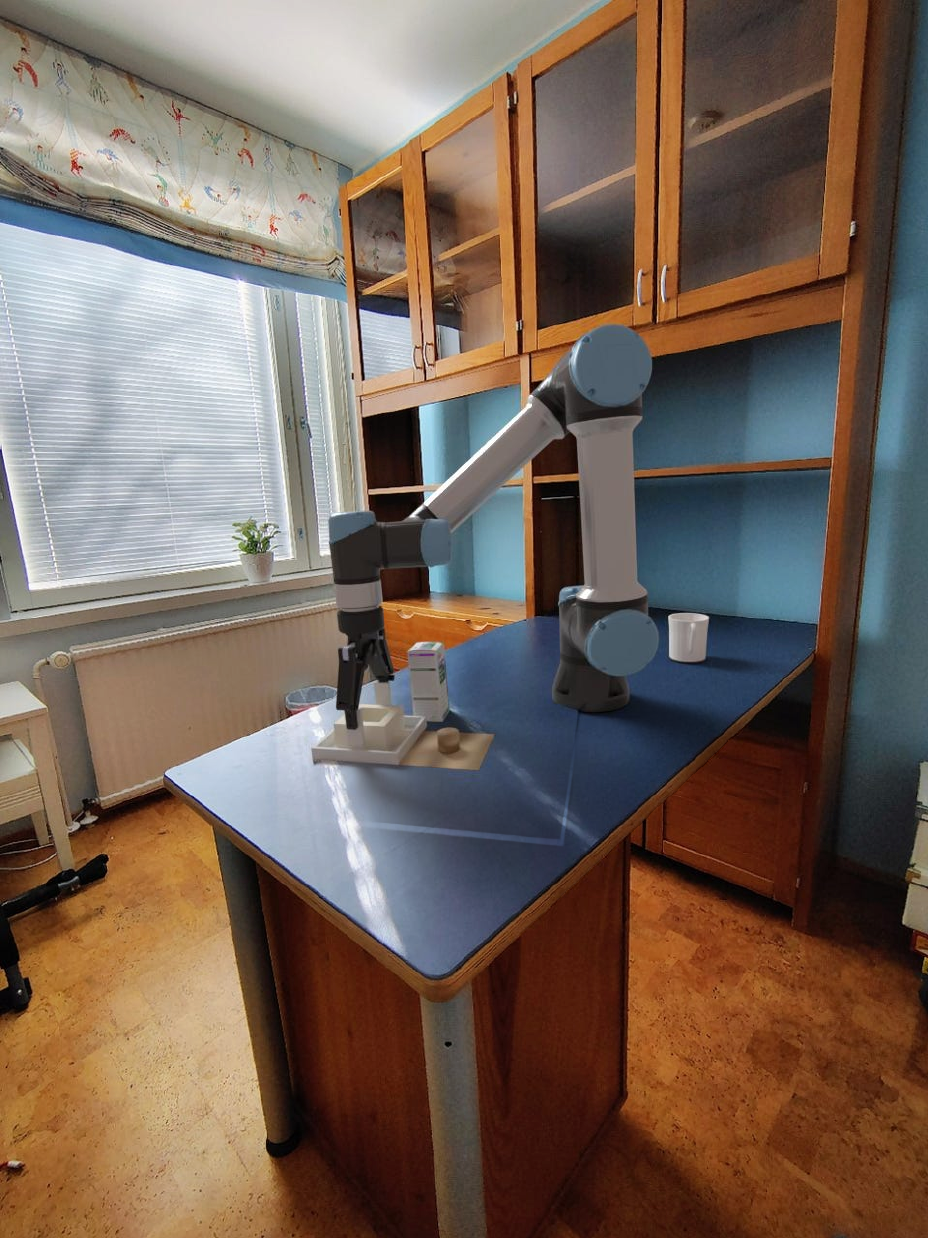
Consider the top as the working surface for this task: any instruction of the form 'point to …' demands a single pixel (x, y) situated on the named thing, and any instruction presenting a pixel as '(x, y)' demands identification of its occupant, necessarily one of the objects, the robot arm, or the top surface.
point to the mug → (687, 637)
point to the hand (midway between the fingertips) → (371, 730)
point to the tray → (329, 751)
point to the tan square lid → (448, 750)
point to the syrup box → (428, 680)
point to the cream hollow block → (376, 728)
